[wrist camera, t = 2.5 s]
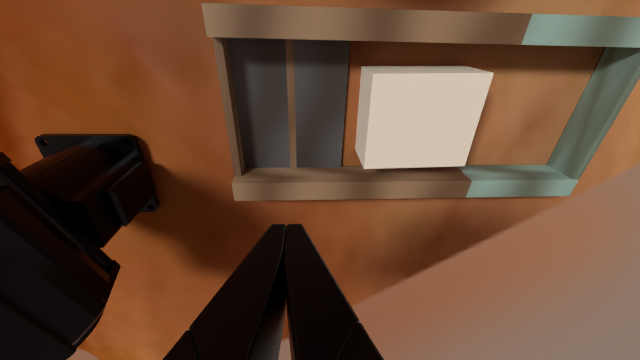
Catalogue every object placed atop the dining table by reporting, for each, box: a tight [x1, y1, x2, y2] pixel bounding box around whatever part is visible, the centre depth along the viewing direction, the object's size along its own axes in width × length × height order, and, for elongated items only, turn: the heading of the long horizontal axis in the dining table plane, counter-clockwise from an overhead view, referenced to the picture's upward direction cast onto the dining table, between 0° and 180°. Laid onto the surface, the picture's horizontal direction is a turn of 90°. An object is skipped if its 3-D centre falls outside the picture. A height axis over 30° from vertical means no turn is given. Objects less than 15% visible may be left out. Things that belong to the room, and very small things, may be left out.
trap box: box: [201, 3, 640, 201], centre depth 18 cm, size 26×12×2 cm, turn 89°
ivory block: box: [355, 66, 494, 169], centre depth 18 cm, size 7×6×4 cm
